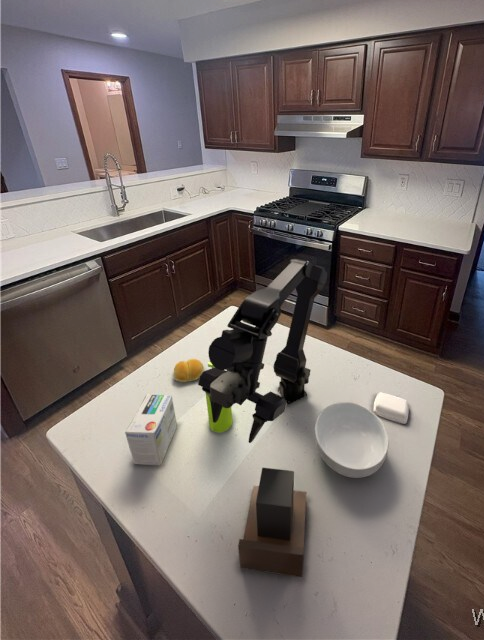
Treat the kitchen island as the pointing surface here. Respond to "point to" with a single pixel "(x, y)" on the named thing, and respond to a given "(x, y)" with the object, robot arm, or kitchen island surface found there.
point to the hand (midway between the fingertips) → (232, 431)
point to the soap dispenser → (224, 418)
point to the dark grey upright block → (275, 503)
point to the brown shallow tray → (274, 542)
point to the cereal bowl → (351, 439)
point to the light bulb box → (152, 430)
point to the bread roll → (188, 370)
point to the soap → (391, 407)
